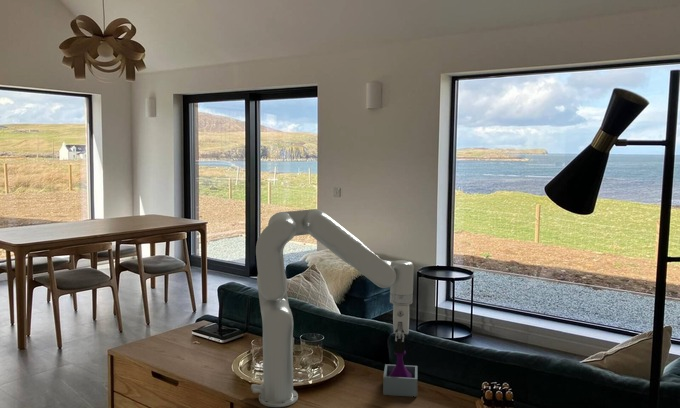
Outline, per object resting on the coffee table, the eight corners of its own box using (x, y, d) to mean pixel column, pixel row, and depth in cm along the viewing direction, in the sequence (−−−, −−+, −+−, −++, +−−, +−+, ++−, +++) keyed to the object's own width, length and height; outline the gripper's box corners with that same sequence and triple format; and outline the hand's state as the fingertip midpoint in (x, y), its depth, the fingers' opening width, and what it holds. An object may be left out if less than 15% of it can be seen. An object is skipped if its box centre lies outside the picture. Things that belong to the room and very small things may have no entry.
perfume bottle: (410, 393, 185) (410, 340, 183) (387, 391, 186) (388, 338, 185) (411, 383, 192) (412, 332, 190) (389, 382, 194) (390, 331, 192)
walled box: (383, 394, 185) (383, 377, 185) (385, 380, 196) (385, 364, 196) (417, 396, 184) (417, 379, 183) (417, 382, 195) (417, 365, 194)
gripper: (412, 305, 178) (410, 358, 179) (412, 292, 195) (411, 340, 196) (388, 304, 179) (387, 356, 180) (391, 290, 196) (389, 338, 197)
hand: (399, 347), depth 188 cm, fingers open, 9 cm apart
